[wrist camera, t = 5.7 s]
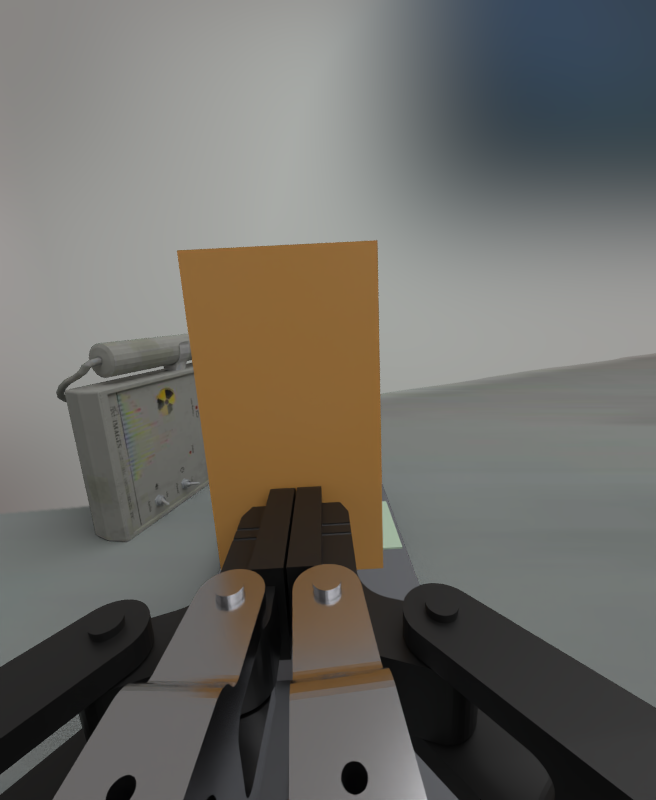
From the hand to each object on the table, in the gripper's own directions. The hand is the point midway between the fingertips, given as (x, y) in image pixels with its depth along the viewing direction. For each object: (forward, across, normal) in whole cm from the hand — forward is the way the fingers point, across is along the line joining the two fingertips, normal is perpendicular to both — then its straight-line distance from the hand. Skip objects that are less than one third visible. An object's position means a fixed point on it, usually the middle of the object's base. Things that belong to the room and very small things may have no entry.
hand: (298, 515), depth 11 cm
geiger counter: (+25, +11, +9) cm, 29 cm away
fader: (+1, 0, +7) cm, 7 cm away
